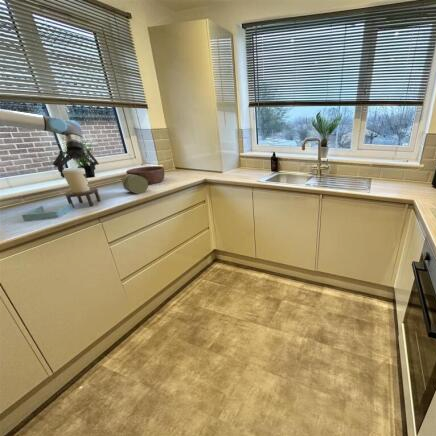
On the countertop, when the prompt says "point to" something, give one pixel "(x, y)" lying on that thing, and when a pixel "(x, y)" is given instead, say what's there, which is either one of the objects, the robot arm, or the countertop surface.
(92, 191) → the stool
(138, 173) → the wooden bowl
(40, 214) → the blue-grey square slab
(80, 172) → the coffee cup
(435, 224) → the countertop surface
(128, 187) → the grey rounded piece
